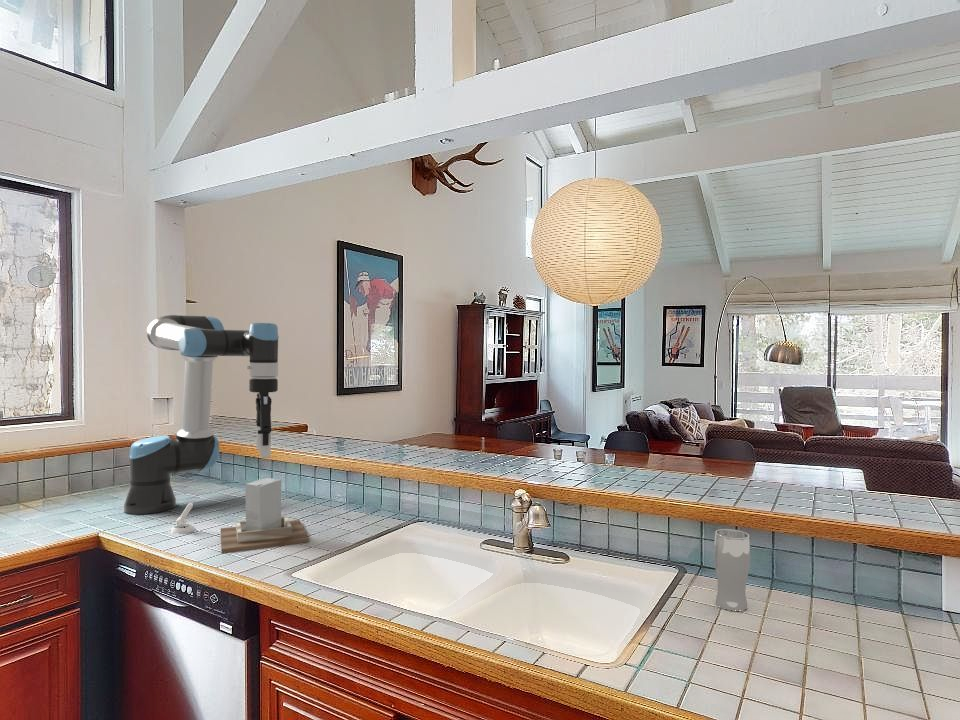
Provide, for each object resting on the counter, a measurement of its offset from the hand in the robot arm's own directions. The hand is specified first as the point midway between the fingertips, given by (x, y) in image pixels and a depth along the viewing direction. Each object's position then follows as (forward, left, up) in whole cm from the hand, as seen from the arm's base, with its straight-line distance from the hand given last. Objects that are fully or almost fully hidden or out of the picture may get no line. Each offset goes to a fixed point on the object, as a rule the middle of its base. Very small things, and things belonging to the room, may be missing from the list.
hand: (263, 453), depth 167 cm
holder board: (0, 0, -24) cm, 24 cm away
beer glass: (+87, +85, -24) cm, 124 cm away
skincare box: (0, 0, -23) cm, 23 cm away
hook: (-16, -21, -24) cm, 35 cm away
